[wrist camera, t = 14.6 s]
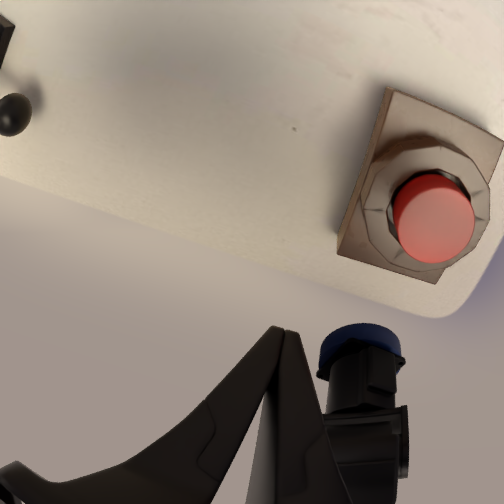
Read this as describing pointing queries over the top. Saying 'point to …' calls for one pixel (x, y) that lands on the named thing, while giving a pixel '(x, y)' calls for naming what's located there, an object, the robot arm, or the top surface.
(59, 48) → the top surface
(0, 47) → the bracket
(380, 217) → the button block
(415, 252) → the button
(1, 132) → the lever
